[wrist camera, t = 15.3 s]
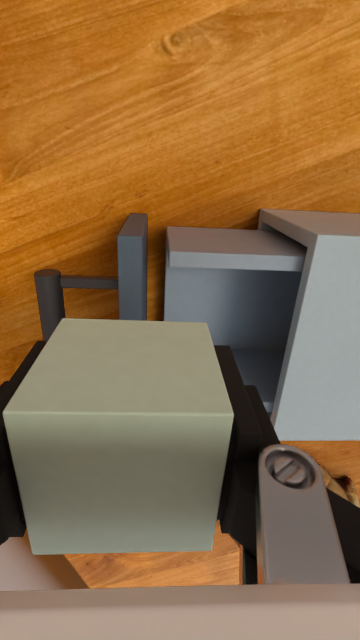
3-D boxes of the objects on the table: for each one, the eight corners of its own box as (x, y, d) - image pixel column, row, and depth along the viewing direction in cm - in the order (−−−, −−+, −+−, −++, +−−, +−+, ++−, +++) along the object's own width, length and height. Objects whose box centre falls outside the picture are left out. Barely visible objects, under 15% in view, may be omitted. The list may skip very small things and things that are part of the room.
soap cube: (73, 429, 12) (31, 555, 8) (61, 317, 10) (0, 412, 6) (195, 430, 12) (212, 552, 8) (207, 321, 10) (234, 414, 6)
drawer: (71, 355, 27) (40, 423, 20) (56, 209, 22) (8, 231, 15) (290, 358, 28) (333, 423, 21) (321, 221, 23) (391, 246, 16)
